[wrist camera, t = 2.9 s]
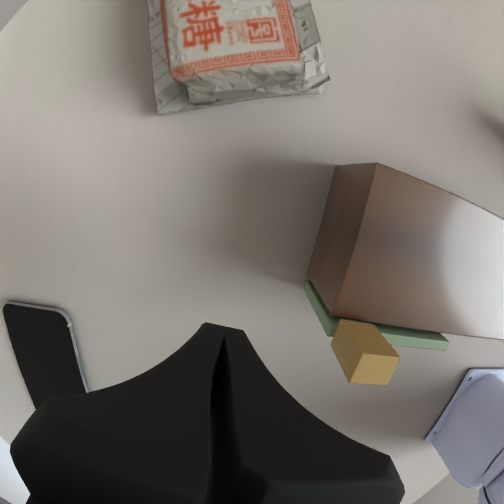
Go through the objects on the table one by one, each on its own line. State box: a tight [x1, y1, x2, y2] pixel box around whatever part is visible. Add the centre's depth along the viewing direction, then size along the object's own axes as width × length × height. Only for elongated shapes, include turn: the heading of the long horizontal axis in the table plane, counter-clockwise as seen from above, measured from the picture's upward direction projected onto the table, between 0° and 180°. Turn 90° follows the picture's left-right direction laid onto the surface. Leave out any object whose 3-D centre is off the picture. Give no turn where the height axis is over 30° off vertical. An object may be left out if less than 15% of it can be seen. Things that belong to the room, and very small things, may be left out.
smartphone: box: [3, 301, 89, 410], centre depth 21 cm, size 7×1×15 cm
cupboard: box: [307, 163, 504, 340], centre depth 16 cm, size 7×15×6 cm, turn 76°
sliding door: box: [304, 281, 449, 385], centre depth 15 cm, size 1×8×9 cm, turn 76°
